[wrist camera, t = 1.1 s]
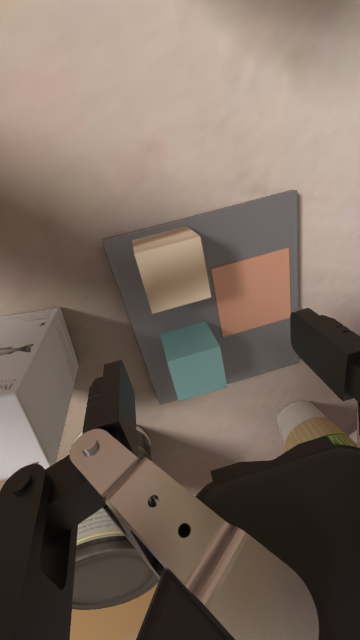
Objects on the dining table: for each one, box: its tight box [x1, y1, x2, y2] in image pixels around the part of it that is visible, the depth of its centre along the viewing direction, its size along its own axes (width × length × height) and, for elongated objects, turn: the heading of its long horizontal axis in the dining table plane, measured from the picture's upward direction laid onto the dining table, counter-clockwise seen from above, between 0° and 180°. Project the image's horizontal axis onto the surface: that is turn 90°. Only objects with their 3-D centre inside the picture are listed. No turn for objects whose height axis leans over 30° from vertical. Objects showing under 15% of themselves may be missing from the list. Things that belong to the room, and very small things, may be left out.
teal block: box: [160, 321, 227, 401], centre depth 29 cm, size 5×5×5 cm
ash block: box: [132, 226, 211, 314], centre depth 24 cm, size 5×5×5 cm
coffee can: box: [72, 425, 160, 610], centre depth 31 cm, size 10×10×14 cm
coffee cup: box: [276, 401, 358, 451], centre depth 35 cm, size 10×10×15 cm
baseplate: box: [102, 190, 299, 404], centre depth 30 cm, size 20×18×1 cm
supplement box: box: [0, 307, 79, 480], centre depth 23 cm, size 7×7×13 cm
